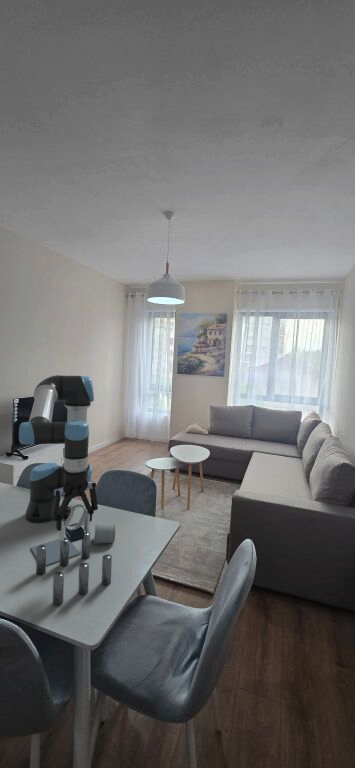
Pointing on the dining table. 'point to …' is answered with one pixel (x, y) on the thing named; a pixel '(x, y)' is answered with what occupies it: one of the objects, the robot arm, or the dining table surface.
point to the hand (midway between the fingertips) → (74, 534)
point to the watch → (74, 530)
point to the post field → (64, 561)
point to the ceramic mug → (104, 533)
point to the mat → (55, 551)
